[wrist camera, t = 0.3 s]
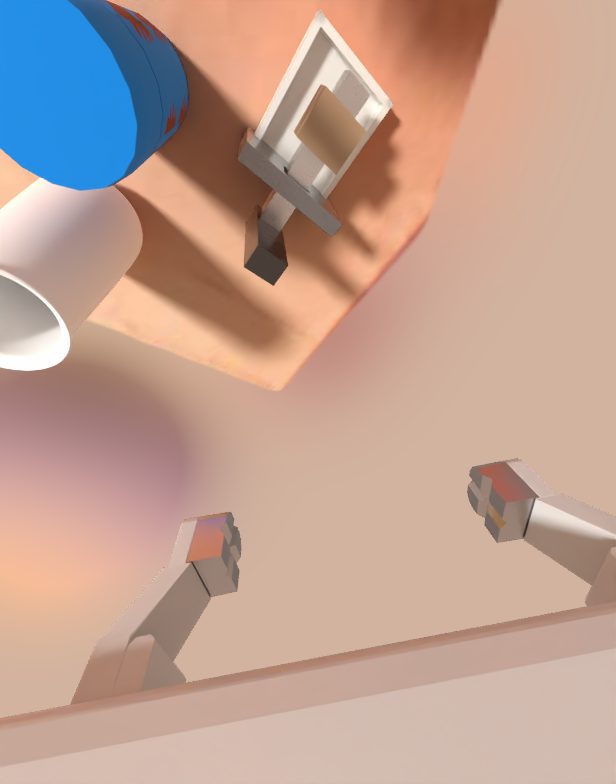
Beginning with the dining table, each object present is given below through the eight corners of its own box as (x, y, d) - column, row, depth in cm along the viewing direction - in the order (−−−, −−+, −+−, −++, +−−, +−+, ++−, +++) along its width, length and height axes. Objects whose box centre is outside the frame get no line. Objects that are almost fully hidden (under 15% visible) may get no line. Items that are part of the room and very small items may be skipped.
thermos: (65, 29, 34) (-126, -4, 17) (156, -7, 33) (52, -81, 16) (130, 150, 42) (44, 212, 25) (205, 124, 41) (170, 169, 24)
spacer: (320, 84, 34) (326, 86, 32) (358, 126, 37) (366, 131, 35) (293, 131, 37) (296, 136, 34) (330, 167, 40) (336, 174, 37)
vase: (30, 209, 45) (-135, 318, 26) (76, 136, 40) (-86, 205, 21) (119, 274, 53) (43, 395, 34) (166, 221, 48) (108, 326, 29)
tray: (316, 13, 35) (319, 10, 33) (386, 102, 41) (393, 104, 39) (254, 132, 42) (254, 135, 40) (323, 193, 48) (326, 199, 46)
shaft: (338, 65, 35) (370, 67, 25) (363, 95, 37) (402, 107, 27) (246, 223, 45) (243, 266, 36) (269, 240, 47) (273, 285, 38)
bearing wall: (248, 126, 42) (246, 141, 34) (328, 197, 49) (342, 224, 41) (240, 141, 43) (237, 159, 35) (319, 209, 50) (332, 237, 42)
